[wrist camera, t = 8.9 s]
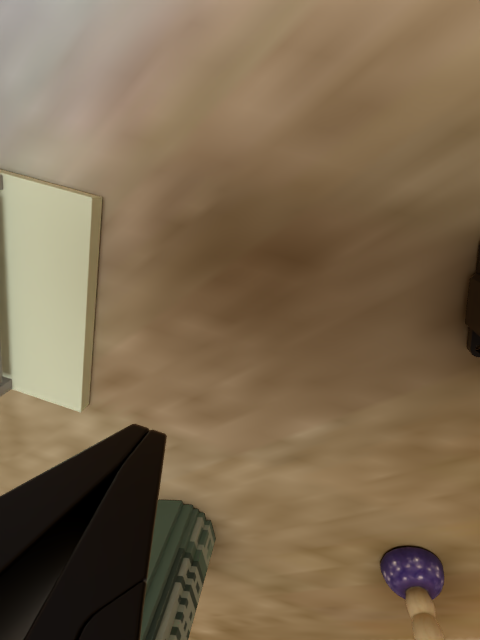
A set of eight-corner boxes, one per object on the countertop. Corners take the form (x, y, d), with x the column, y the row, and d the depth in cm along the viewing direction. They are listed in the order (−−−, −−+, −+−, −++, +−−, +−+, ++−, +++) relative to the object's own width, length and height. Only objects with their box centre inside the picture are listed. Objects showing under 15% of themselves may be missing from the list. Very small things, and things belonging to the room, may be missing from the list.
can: (136, 498, 28) (-28, 791, 15) (205, 501, 27) (94, 829, 13) (154, 550, 30) (25, 851, 17) (220, 555, 29) (136, 890, 15)
